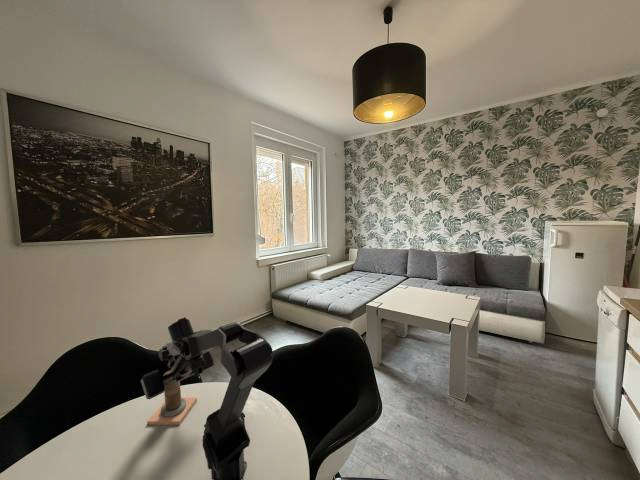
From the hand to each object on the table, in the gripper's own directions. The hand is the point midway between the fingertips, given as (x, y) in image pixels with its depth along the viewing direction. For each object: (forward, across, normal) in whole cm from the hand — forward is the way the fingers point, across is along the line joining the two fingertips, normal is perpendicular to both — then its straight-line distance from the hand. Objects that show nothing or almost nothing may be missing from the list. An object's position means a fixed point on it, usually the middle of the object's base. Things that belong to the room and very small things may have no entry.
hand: (173, 382), depth 78 cm
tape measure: (-7, -8, +23) cm, 25 cm away
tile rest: (+8, 0, +6) cm, 11 cm away
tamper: (+8, 0, +6) cm, 10 cm away
